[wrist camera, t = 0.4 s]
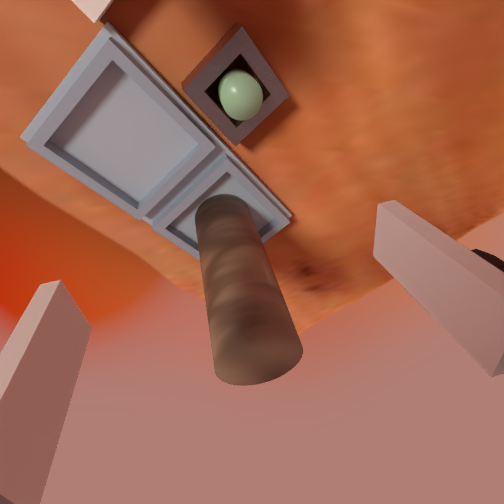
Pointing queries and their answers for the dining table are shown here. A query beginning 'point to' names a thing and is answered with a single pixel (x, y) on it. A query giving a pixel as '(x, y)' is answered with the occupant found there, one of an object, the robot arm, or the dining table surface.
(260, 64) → the button box
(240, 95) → the button
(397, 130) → the dining table surface
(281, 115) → the dining table surface
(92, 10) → the square frame
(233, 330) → the seated post
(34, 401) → the robot arm
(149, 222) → the grey divided tray
